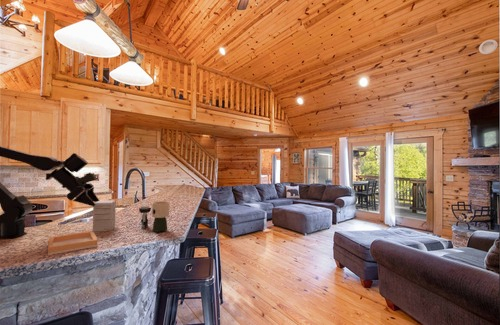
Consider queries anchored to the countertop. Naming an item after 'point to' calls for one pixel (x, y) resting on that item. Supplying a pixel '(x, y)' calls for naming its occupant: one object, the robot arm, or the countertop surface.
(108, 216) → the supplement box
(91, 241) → the shallow wooden tray
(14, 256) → the countertop surface
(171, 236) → the countertop surface
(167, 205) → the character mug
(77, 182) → the robot arm
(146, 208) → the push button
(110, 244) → the countertop surface
